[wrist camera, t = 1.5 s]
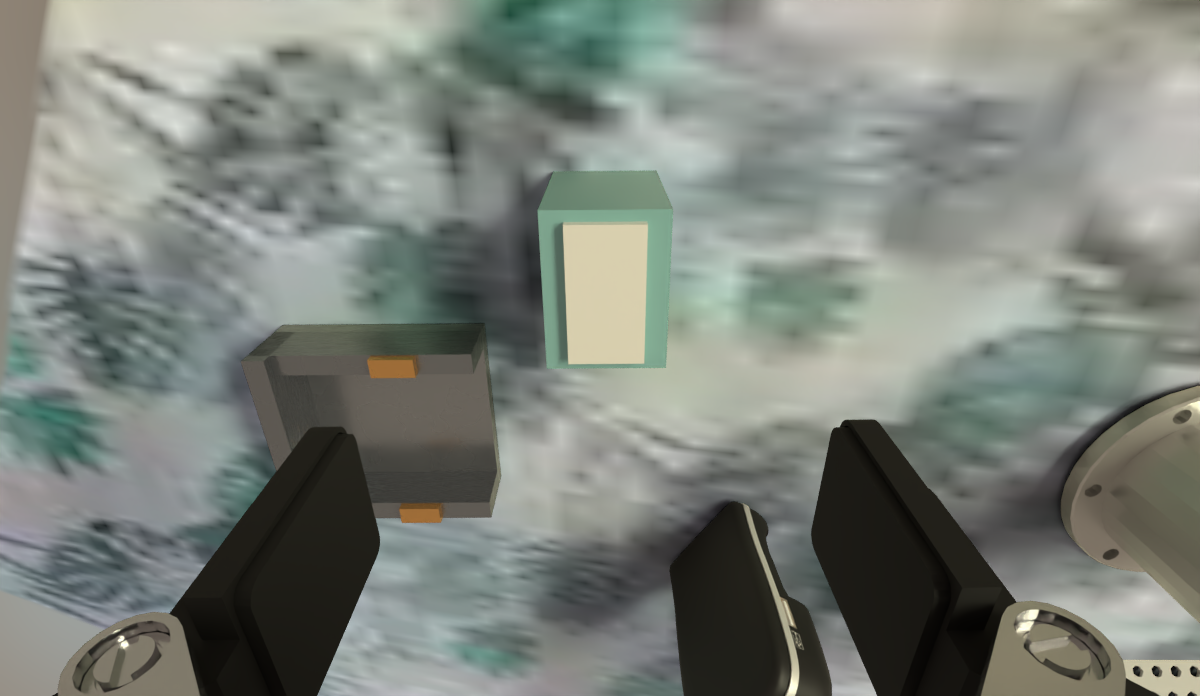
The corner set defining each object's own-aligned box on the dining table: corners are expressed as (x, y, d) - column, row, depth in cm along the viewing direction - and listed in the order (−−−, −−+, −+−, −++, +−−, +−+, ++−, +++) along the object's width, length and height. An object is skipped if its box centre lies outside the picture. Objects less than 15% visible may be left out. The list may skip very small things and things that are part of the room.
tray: (484, 323, 29) (468, 359, 26) (501, 476, 33) (489, 524, 30) (282, 325, 29) (240, 361, 26) (325, 477, 33) (294, 525, 30)
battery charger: (713, 589, 37) (754, 791, 27) (664, 566, 37) (687, 766, 26) (785, 519, 35) (860, 714, 25) (733, 492, 34) (790, 683, 24)
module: (656, 170, 26) (674, 212, 19) (652, 298, 28) (666, 373, 22) (553, 171, 26) (536, 213, 19) (559, 298, 29) (546, 373, 22)
